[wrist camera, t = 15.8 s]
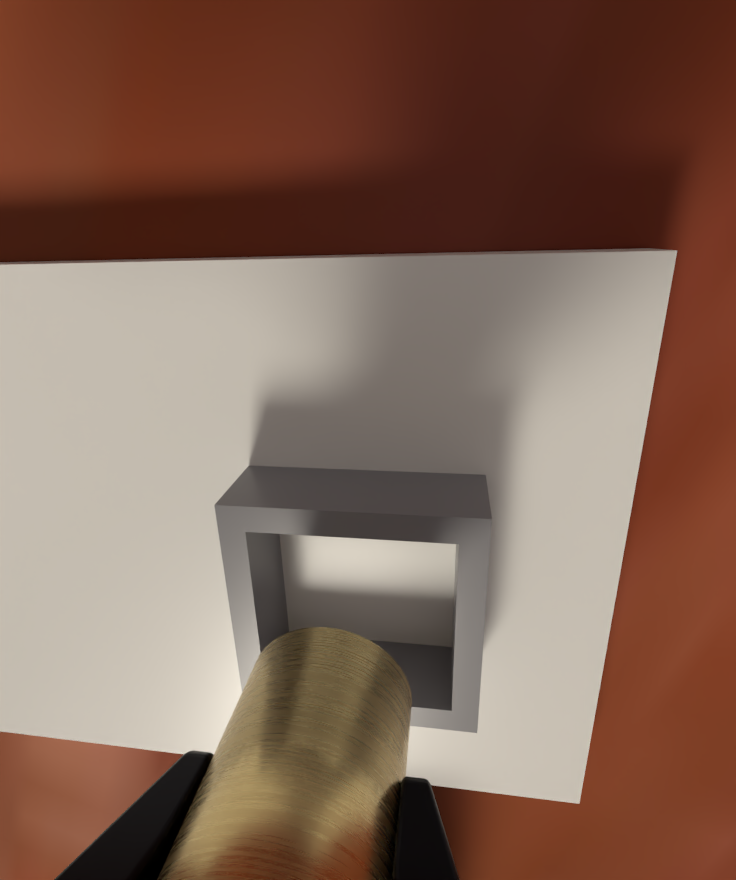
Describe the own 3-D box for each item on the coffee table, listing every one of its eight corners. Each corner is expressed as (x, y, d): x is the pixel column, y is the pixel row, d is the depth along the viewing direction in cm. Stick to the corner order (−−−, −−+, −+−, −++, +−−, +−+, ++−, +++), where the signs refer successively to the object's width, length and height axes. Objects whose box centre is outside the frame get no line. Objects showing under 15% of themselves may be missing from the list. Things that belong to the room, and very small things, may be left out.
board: (3, 692, 19) (-86, 783, 16) (-153, 265, 14) (-333, 275, 11) (568, 756, 17) (596, 882, 13) (649, 248, 11) (730, 254, 8)
